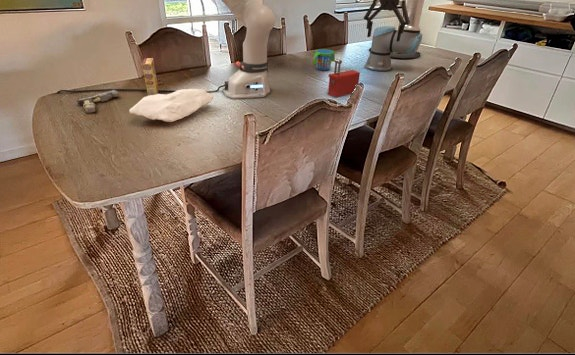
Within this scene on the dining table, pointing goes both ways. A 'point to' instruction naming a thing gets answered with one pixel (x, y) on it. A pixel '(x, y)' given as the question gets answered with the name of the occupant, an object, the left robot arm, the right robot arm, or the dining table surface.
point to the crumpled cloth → (171, 104)
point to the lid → (342, 74)
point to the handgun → (95, 100)
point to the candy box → (150, 76)
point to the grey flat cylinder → (402, 55)
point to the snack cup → (323, 58)
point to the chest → (342, 86)
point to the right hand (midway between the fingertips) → (383, 38)
